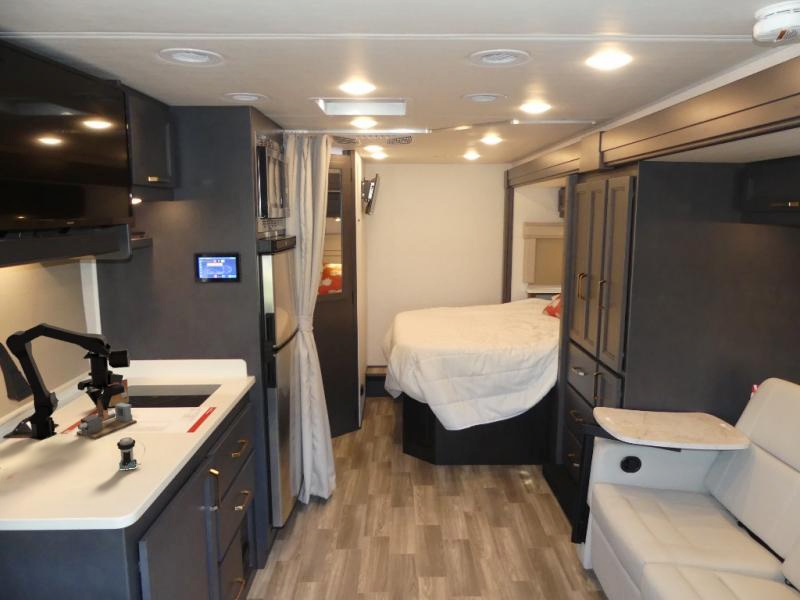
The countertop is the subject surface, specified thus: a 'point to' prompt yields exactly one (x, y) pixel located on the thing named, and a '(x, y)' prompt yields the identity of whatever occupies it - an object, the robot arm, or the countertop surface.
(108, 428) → the base plate
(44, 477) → the countertop surface
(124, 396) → the small box
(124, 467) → the push button
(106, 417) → the sliding bolt with handle
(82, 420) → the outer sleeve
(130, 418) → the socket
